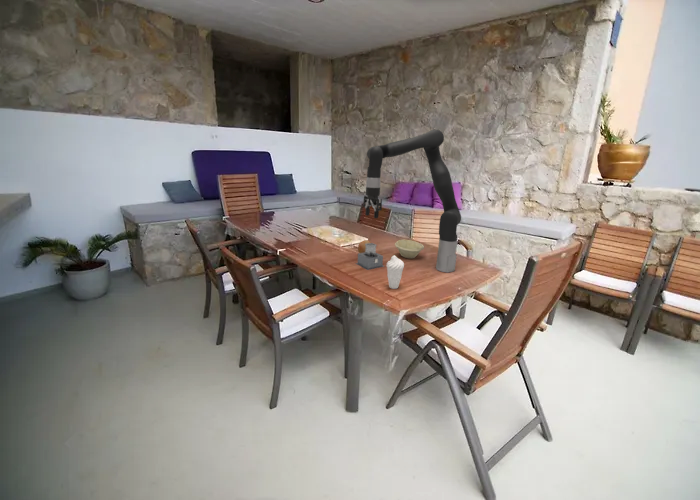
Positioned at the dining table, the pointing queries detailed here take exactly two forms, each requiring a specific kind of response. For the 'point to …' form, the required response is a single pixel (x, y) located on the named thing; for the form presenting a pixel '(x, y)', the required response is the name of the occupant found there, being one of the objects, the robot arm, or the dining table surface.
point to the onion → (362, 246)
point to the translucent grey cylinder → (370, 249)
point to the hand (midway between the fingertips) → (371, 216)
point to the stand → (370, 261)
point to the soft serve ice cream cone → (394, 271)
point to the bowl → (409, 248)
